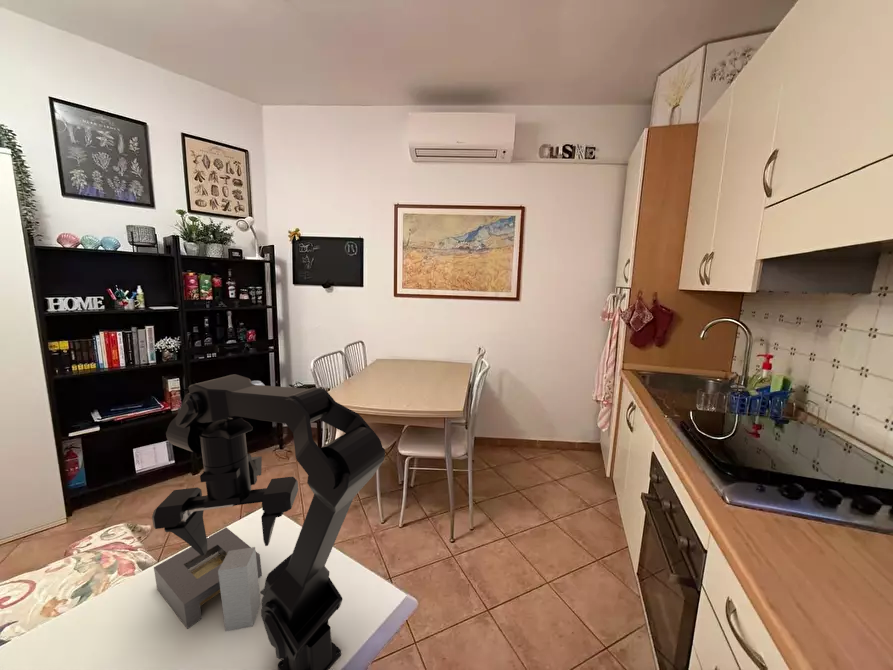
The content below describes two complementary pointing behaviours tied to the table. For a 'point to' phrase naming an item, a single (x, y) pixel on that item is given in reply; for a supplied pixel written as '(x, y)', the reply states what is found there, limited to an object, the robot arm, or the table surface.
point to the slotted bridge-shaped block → (196, 576)
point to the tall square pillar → (239, 588)
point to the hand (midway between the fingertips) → (236, 548)
